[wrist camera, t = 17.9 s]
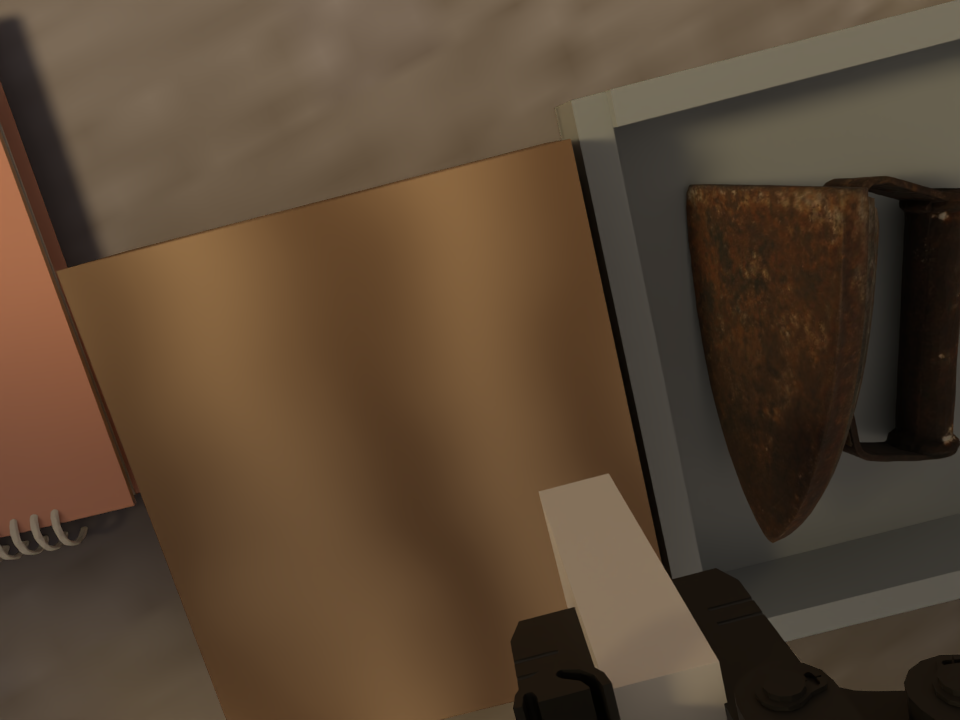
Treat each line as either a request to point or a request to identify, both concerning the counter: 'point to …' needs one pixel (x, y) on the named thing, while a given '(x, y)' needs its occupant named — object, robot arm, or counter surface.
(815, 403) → the clothes iron
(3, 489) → the notebook
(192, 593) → the walnut stand
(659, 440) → the bin
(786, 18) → the counter surface
